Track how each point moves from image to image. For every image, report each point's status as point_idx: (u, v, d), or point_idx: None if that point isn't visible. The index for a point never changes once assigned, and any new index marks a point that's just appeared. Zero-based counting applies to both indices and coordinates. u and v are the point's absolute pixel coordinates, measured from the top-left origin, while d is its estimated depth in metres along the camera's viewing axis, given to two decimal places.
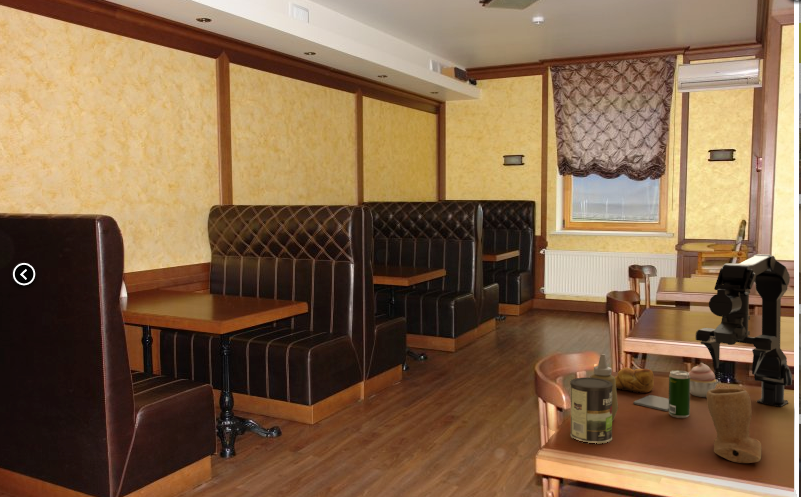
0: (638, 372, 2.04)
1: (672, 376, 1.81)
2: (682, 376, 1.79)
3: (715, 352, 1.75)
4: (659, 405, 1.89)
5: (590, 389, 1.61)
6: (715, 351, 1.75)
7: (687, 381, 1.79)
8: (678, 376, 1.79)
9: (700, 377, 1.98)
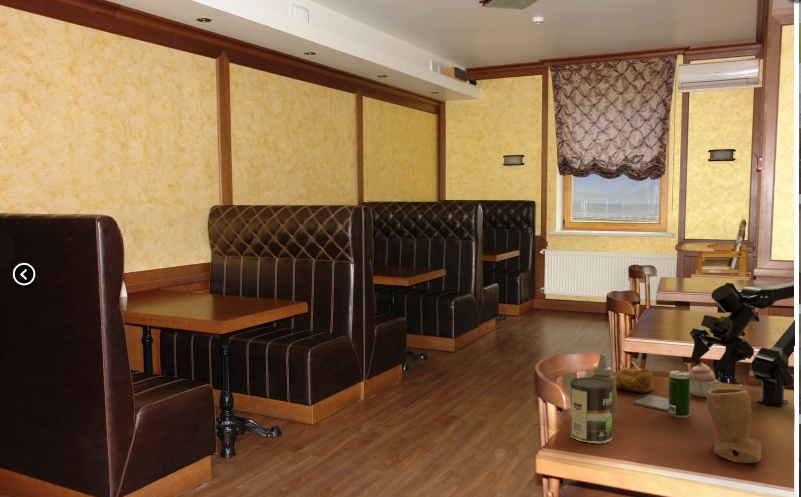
0: (637, 372, 2.04)
1: (672, 376, 1.81)
2: (682, 376, 1.79)
3: (698, 348, 1.89)
4: (659, 405, 1.89)
5: (590, 389, 1.61)
6: (699, 348, 1.89)
7: (687, 381, 1.79)
8: (678, 376, 1.79)
9: (700, 377, 1.98)
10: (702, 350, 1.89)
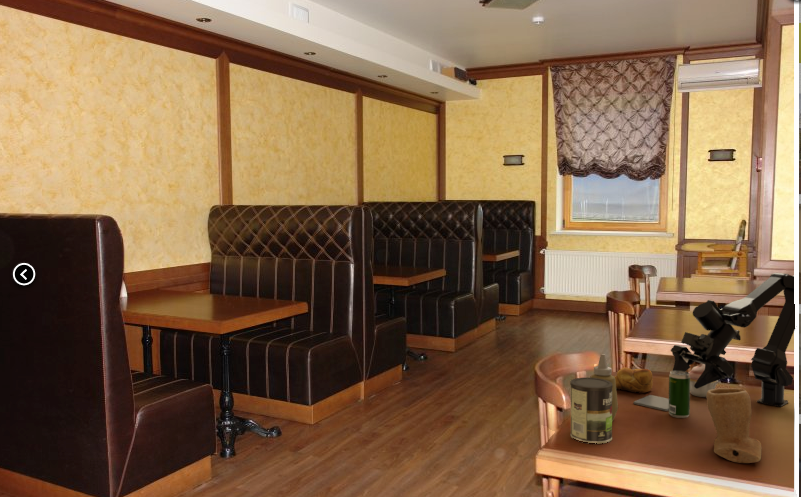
0: (636, 372, 2.04)
1: (672, 376, 1.81)
2: (682, 376, 1.79)
3: (678, 366, 1.87)
4: (659, 405, 1.89)
5: (590, 389, 1.61)
6: (679, 365, 1.87)
7: (687, 381, 1.79)
8: (678, 376, 1.79)
9: None
10: (682, 367, 1.88)
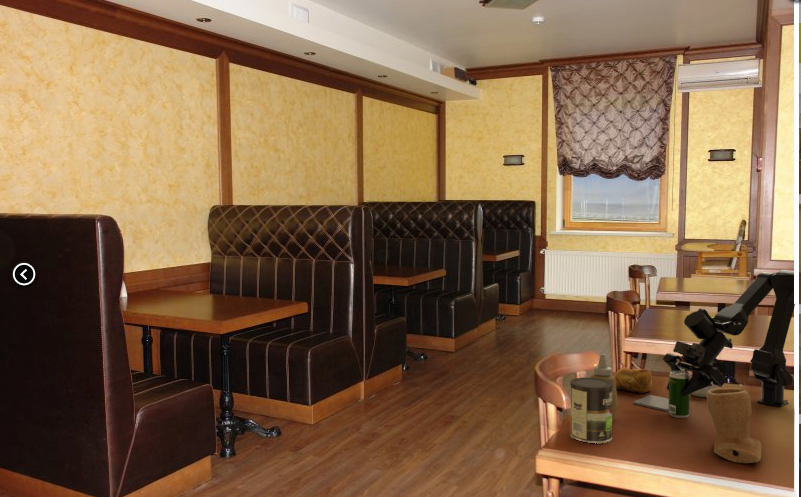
0: (636, 372, 2.04)
1: (672, 376, 1.81)
2: (682, 376, 1.79)
3: None
4: (659, 405, 1.89)
5: (590, 389, 1.61)
6: None
7: (687, 381, 1.79)
8: (678, 376, 1.79)
9: None
10: None
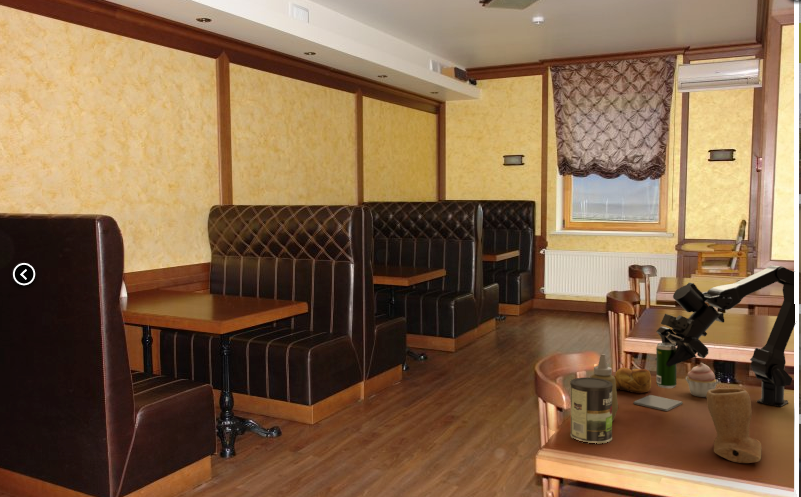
0: (635, 372, 2.04)
1: (658, 347, 1.86)
2: (667, 347, 1.85)
3: None
4: (659, 405, 1.89)
5: (590, 389, 1.61)
6: None
7: (672, 352, 1.84)
8: (663, 347, 1.85)
9: (700, 377, 1.98)
10: None
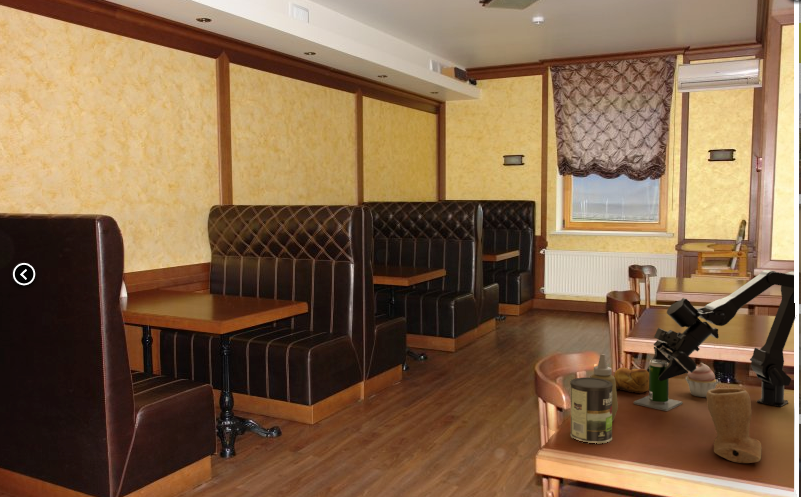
0: (633, 372, 2.04)
1: (650, 364, 1.92)
2: (658, 364, 1.90)
3: None
4: (659, 405, 1.89)
5: (590, 389, 1.61)
6: None
7: (663, 369, 1.90)
8: (654, 364, 1.90)
9: (700, 377, 1.98)
10: None
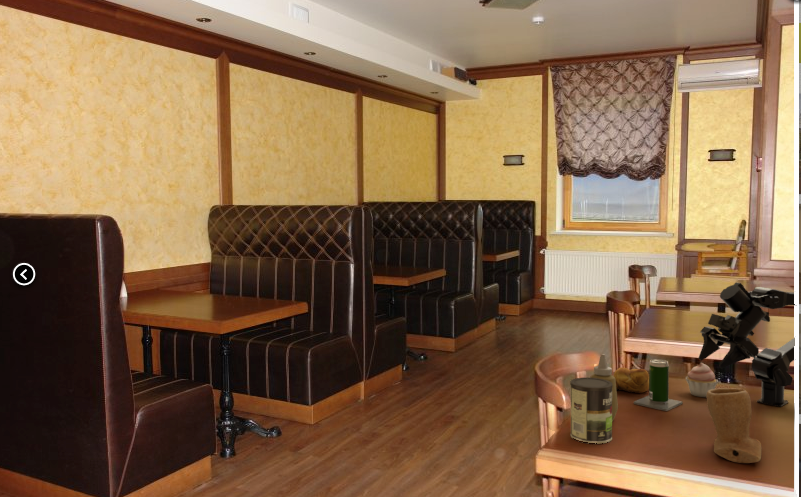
0: (633, 372, 2.04)
1: (650, 364, 1.92)
2: (658, 364, 1.90)
3: (707, 347, 1.92)
4: (659, 405, 1.89)
5: (590, 389, 1.61)
6: (708, 346, 1.93)
7: (663, 369, 1.90)
8: (654, 364, 1.90)
9: (700, 377, 1.98)
10: (711, 348, 1.93)
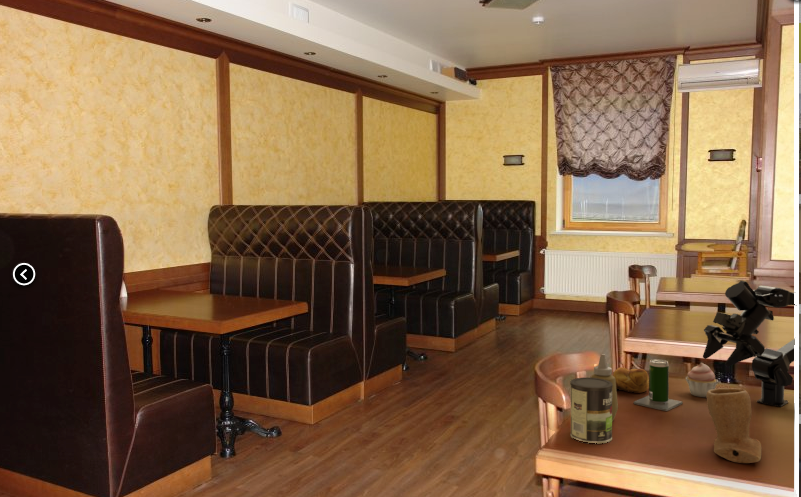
0: (632, 372, 2.04)
1: (650, 364, 1.92)
2: (658, 364, 1.90)
3: (711, 345, 1.92)
4: (659, 405, 1.89)
5: (590, 389, 1.61)
6: (712, 345, 1.92)
7: (663, 369, 1.90)
8: (654, 364, 1.91)
9: (700, 377, 1.98)
10: (715, 347, 1.92)
